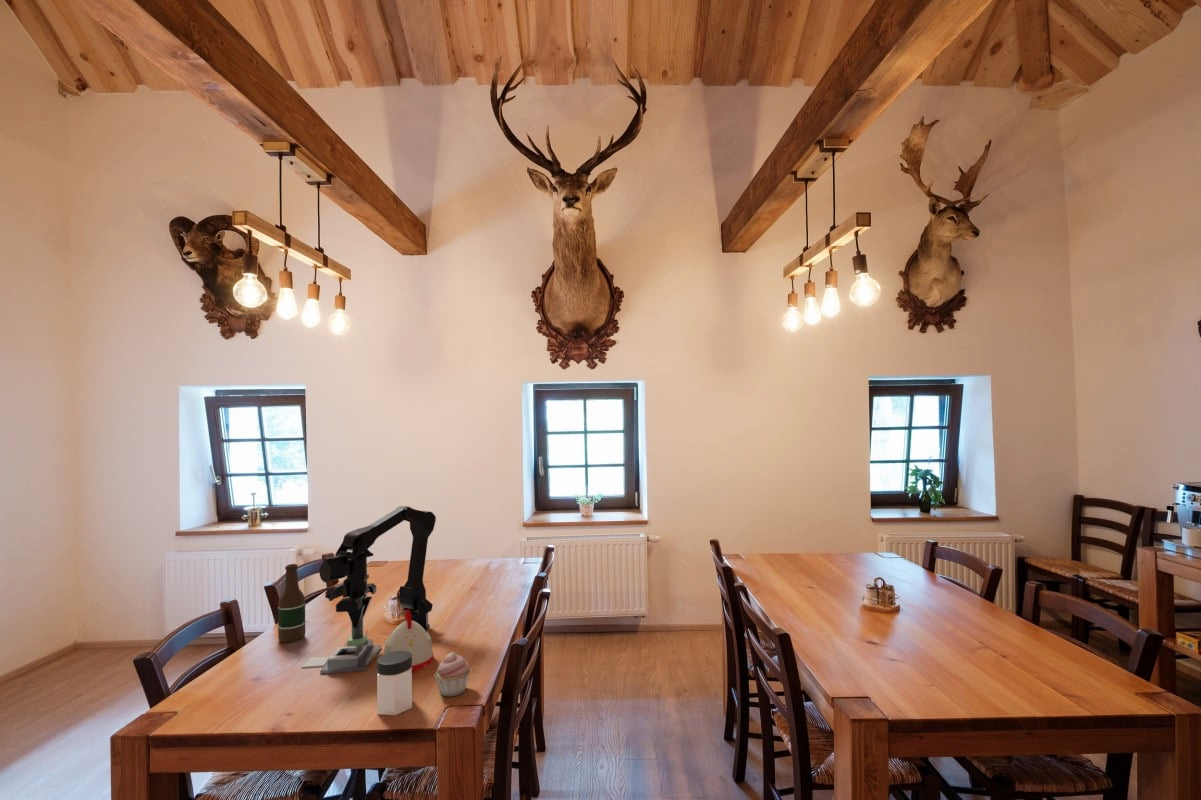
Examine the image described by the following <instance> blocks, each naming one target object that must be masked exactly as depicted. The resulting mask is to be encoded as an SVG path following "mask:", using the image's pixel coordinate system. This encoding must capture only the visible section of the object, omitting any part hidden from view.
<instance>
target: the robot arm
mask: <svg viewBox="0 0 1201 800" xmlns="http://www.w3.org/2000/svg"><path fill="white" fill-rule="evenodd" d="M404 521H406V522H408V523H409V530H410V532H411V535H412V544H411V550H410V551H411V552H410V556H409V565H408V574H407V581H406V582H405V584H404V585H401V586H399V592H398V593H399V594H398V596H397V599H398V601H399V605H400V606H401V607H402V608H403V611H404V612H406V610H408V609H409V611H410V613H411V619H412V621H414V622H417V623H418V624H420V625H421V626H422V627H423V628H424V630H425V631H426V632H427V631H428V628H429V627H430V623H429V613H430V612H432V611H433V610H432V609H433V606H434V605H433V603H432V602H431V601H429V600H428V599H427V590H426V586H425V584H424V574H425V573H424V572H425V565H426V558H427V549H428V541H429V537H430V536H431V534H432V533H433V532H434V529H435V525H436V522H437V516H436V515H435V514H434V512H432V511H427V510H418V509H415V508H413V507H411V506H406V505H400V506H398V507H396V508H395V509H394V510H392V511H391V512H389V513H387V514H386V515H384V516H382V517H381V518H380V519H379V518H378V519H377V520H375V521H374V522H372V523H371V524H369V525H366V526H365V527H363V526H362V527H359V528H357V529H353V530H351V531H349V532H347V533H345V535H344V536H343V538H342V539H343V540H342V542H341V544H340V546H339V547H338V549H337V550H336V552H335V555H334V556H331V557H329V556H328V557H324V558H323V563H321V564H320V568H319V571H318V574H319V577H320V579H321V581H322V582H323V583H328V582H332V581H337V580H341V579H344V580H343V581H342V583H339V584H336V585H332V586H330V587H327V588H326V591H325V596H324V597H325V598H326V599H328V601H329V602H332V601H334V600H335V599H338V598H340V597H342V599H340V600H339V601H338V602H337V603H336V605H335V612H336V613H344V612H346V613H347V614H348V616H349V619H350V622H351V626H352V625H353V628H357V627H358V624H359V622H360V618H361V615H362V612H363V619H364V618H365V615H366V612H367V609H368V608H369V606H370V603H371V601H372V599H373V596H368V594H369V593H371V595H375V594H376V593H377V585H376V584H375V583H368V579H369V578H370V574H368V558H370V557H373V556H374V553H373V552H372V551H370V550H369V549H370V548H371V547H372V546H373V545H374V544H375V542H376V540H377V539H378V538H379V537H380V536H383V535H384V534H385V533H386V532H388V531H390V530H392V529H393V528H395V527H396V526H398V525H399V524H401V523H402V522H404ZM362 603H363V605H362ZM363 609H364V610H363Z"/></svg>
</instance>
